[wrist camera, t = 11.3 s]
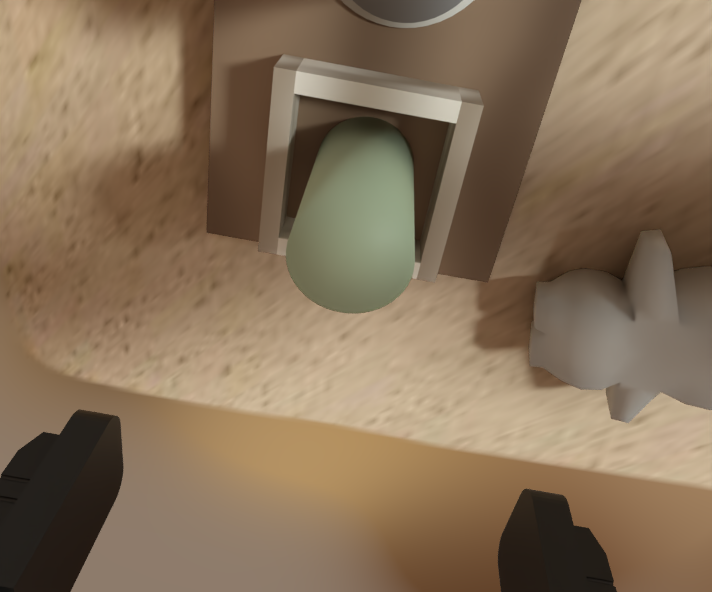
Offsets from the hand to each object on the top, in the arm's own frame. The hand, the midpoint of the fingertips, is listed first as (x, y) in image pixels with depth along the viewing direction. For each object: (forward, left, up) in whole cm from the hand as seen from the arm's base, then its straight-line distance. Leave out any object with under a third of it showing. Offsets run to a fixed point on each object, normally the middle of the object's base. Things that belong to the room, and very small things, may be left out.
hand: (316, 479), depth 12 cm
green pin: (0, 0, -17) cm, 16 cm away
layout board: (0, -5, -18) cm, 18 cm away
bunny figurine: (-16, +5, -18) cm, 25 cm away
